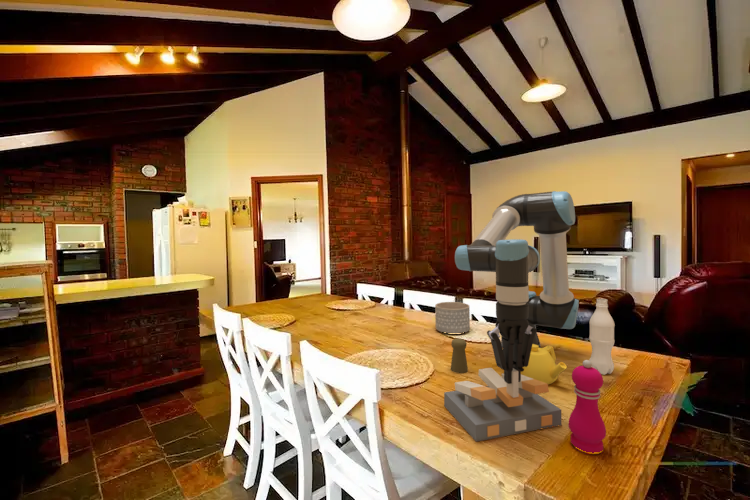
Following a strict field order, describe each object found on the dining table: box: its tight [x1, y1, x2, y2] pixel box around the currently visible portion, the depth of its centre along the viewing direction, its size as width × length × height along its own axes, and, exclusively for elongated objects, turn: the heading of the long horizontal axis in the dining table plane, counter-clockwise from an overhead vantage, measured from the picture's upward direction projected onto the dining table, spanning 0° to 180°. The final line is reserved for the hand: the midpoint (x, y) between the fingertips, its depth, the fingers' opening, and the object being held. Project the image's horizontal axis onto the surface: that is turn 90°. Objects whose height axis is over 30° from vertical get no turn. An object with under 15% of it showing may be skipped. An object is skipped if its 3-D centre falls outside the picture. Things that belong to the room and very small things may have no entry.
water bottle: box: [588, 298, 616, 376], centre depth 116 cm, size 7×7×25 cm
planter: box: [434, 301, 471, 334], centre depth 168 cm, size 16×16×13 cm
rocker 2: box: [477, 367, 523, 407], centre depth 91 cm, size 4×14×2 cm, turn 14°
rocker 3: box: [501, 372, 550, 395], centre depth 93 cm, size 4×14×2 cm, turn 14°
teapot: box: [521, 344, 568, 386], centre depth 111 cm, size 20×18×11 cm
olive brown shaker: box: [450, 338, 469, 374], centre depth 121 cm, size 6×6×11 cm
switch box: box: [443, 385, 562, 442], centre depth 91 cm, size 24×17×6 cm
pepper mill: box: [568, 359, 607, 453], centre depth 77 cm, size 7×7×20 cm
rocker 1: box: [454, 380, 496, 400], centre depth 89 cm, size 4×14×2 cm, turn 14°
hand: (512, 394), depth 85 cm, fingers closed
